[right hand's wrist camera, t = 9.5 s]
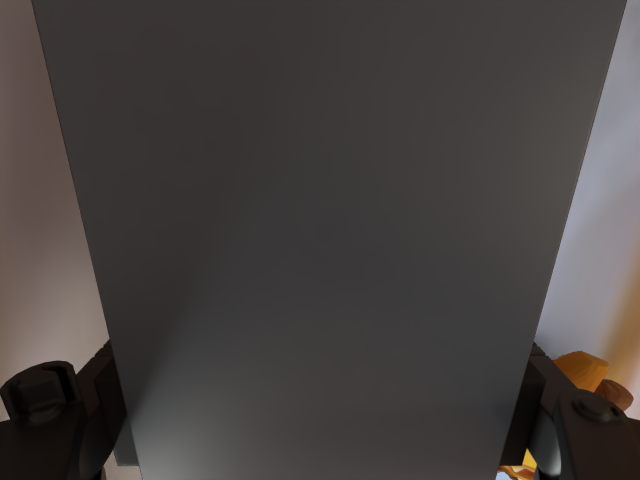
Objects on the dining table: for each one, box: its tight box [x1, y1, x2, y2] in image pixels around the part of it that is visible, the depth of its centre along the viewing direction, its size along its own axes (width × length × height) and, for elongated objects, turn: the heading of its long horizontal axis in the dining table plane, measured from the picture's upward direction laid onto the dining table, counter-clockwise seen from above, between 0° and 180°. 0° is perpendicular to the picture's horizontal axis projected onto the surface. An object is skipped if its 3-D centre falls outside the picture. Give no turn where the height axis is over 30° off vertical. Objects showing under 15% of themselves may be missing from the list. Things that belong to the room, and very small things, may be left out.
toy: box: [497, 351, 633, 480], centre depth 26 cm, size 11×6×15 cm
